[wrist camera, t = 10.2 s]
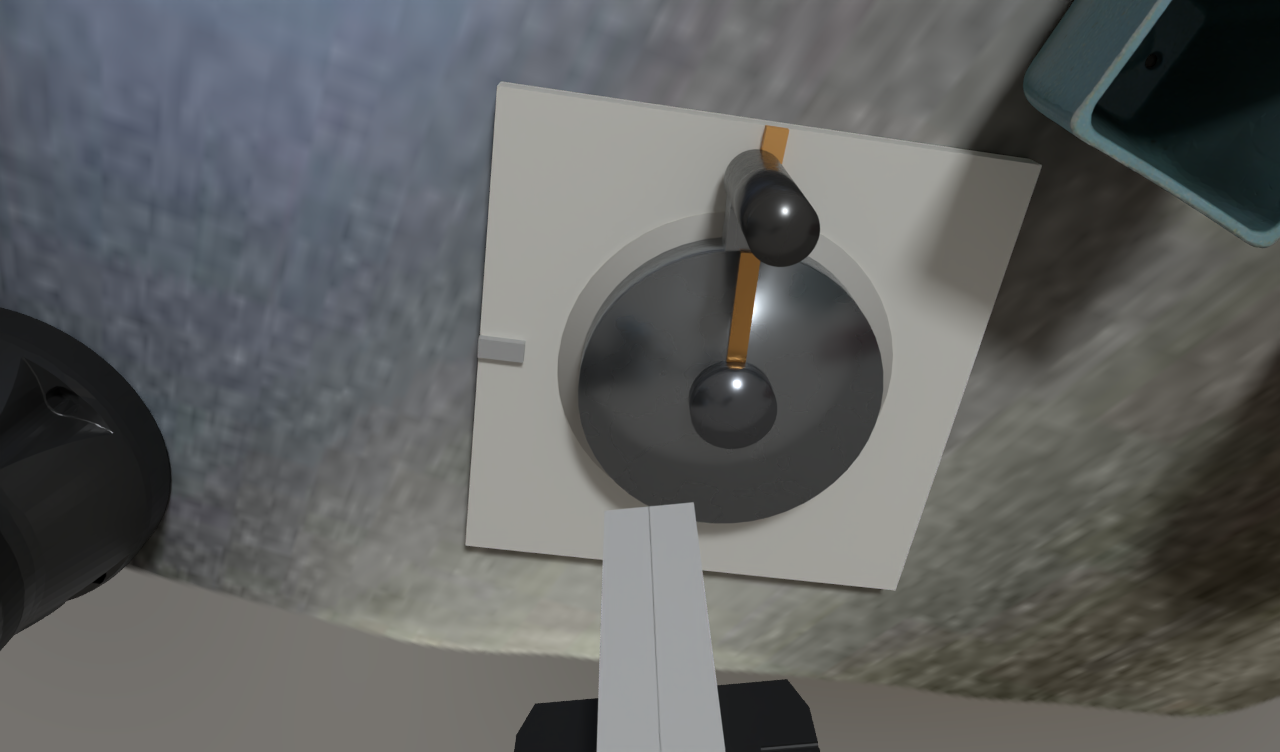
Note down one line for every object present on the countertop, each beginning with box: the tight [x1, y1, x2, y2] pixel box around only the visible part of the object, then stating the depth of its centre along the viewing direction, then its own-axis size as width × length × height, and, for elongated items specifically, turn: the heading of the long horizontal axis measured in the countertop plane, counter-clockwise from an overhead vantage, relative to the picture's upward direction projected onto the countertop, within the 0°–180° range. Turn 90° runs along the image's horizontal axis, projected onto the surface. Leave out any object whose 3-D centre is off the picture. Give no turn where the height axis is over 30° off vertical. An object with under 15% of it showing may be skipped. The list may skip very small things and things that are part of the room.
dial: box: [578, 149, 883, 523], centre depth 35 cm, size 17×13×8 cm
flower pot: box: [1023, 0, 1280, 248], centre depth 30 cm, size 9×9×9 cm
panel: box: [465, 81, 1042, 590], centre depth 40 cm, size 22×22×2 cm
